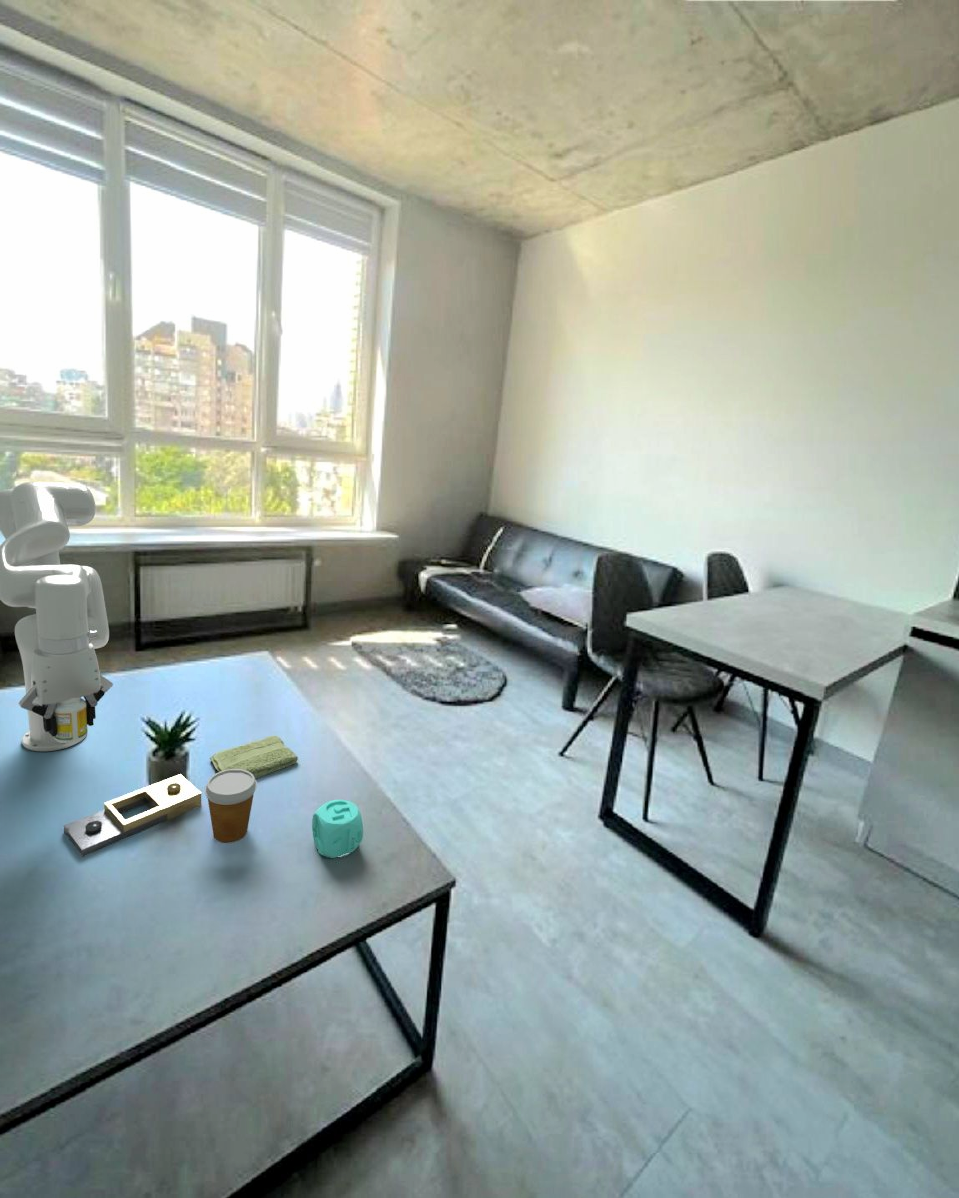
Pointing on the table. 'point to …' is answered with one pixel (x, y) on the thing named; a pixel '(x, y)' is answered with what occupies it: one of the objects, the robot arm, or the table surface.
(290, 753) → the washcloth
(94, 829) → the holed plate
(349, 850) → the decorative dice
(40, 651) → the robot arm
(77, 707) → the supplement bottle
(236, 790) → the disposable coffee cup
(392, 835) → the table surface
